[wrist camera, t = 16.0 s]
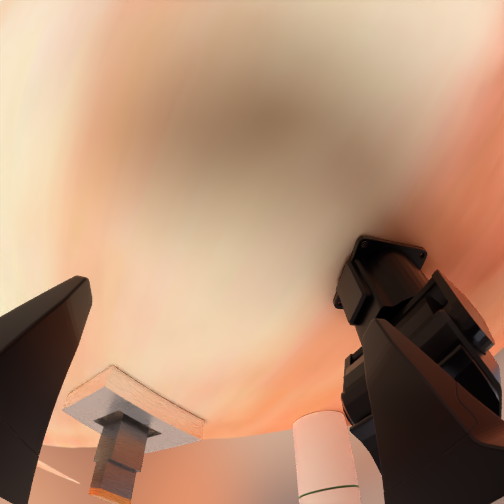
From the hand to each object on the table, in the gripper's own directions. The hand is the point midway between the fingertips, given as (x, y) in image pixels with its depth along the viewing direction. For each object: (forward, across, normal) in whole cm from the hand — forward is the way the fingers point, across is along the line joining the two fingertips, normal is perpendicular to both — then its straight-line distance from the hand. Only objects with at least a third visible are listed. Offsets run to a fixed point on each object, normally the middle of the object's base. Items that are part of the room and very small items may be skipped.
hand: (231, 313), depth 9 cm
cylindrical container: (+12, -15, +29) cm, 35 cm away
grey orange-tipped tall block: (+12, +10, +31) cm, 35 cm away
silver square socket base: (+12, +10, +31) cm, 35 cm away
